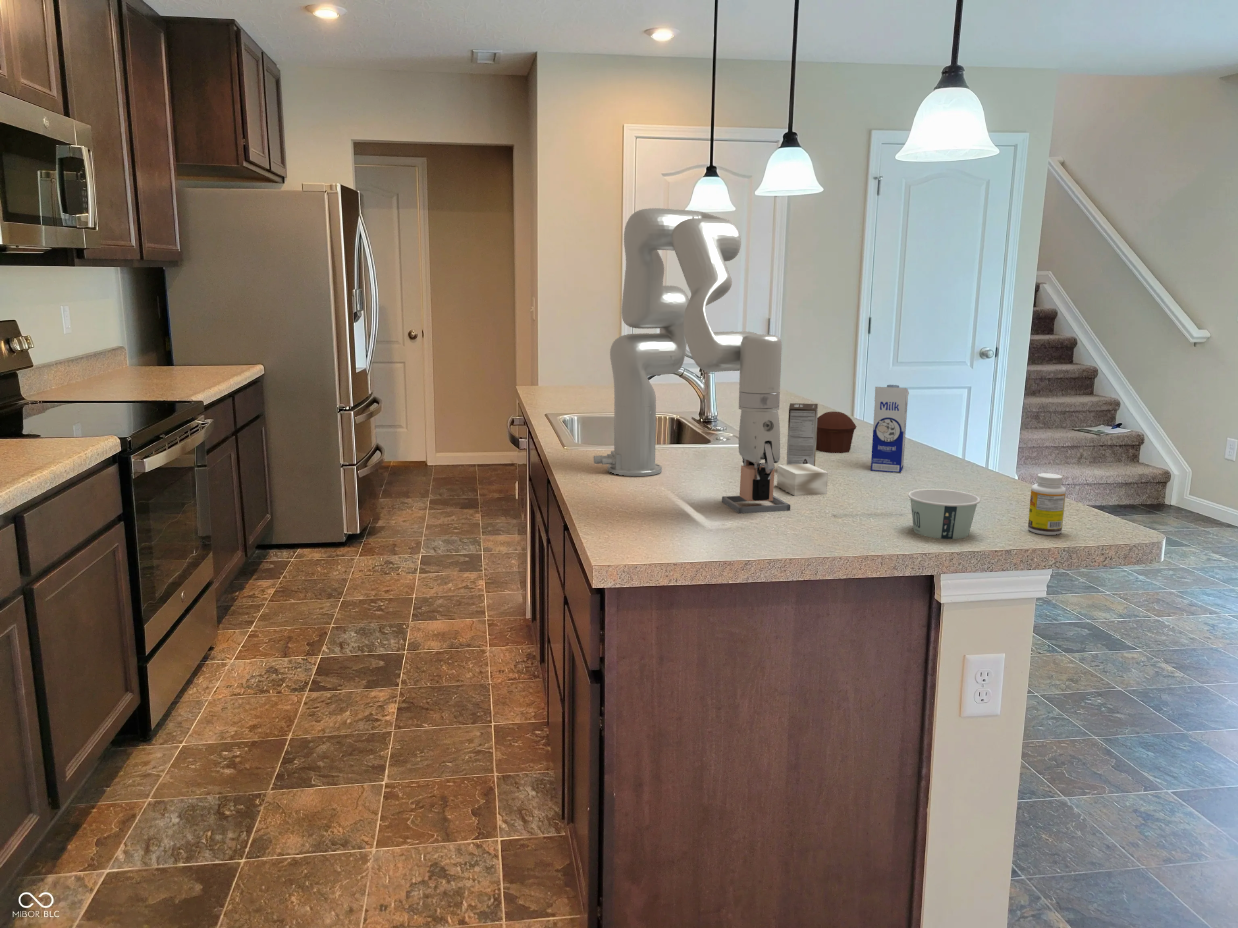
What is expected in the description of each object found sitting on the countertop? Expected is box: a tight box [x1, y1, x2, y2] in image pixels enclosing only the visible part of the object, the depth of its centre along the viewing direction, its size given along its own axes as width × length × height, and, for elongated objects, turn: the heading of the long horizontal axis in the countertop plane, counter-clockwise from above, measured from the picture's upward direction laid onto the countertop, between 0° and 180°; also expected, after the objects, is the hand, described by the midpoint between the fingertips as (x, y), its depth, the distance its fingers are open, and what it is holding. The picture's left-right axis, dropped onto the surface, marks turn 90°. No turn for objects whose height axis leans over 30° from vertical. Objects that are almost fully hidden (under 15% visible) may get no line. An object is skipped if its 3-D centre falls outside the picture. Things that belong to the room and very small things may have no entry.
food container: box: [907, 488, 981, 540], centre depth 160 cm, size 12×12×6 cm
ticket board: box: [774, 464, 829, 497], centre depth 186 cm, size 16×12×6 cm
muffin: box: [816, 411, 857, 454], centre depth 238 cm, size 12×11×10 cm
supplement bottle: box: [1027, 472, 1067, 536], centre depth 160 cm, size 6×6×10 cm
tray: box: [721, 494, 791, 514], centre depth 173 cm, size 10×9×2 cm
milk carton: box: [870, 384, 910, 473], centre depth 212 cm, size 7×7×20 cm
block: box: [739, 465, 775, 502], centre depth 172 cm, size 5×4×6 cm
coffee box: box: [786, 402, 819, 467], centre depth 206 cm, size 9×6×16 cm
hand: (755, 495), depth 173 cm, fingers closed on block, 4 cm apart
